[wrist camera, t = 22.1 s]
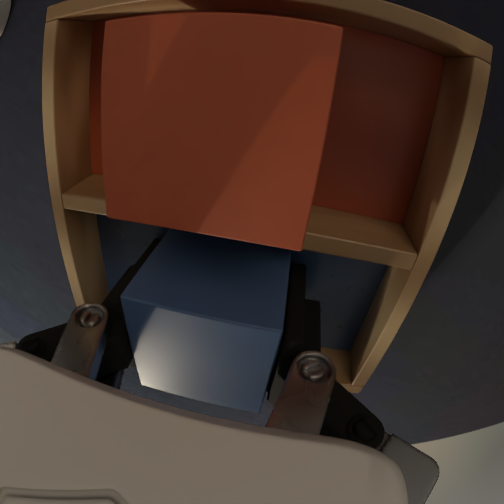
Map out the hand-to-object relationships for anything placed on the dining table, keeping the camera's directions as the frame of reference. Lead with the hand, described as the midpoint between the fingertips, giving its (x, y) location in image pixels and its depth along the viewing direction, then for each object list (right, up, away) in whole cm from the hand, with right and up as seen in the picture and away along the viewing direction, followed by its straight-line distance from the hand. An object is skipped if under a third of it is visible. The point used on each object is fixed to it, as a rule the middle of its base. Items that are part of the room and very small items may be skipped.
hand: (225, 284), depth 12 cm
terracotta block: (+1, +6, -3) cm, 7 cm away
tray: (+1, +3, -1) cm, 4 cm away
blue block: (0, 0, 0) cm, 0 cm away
